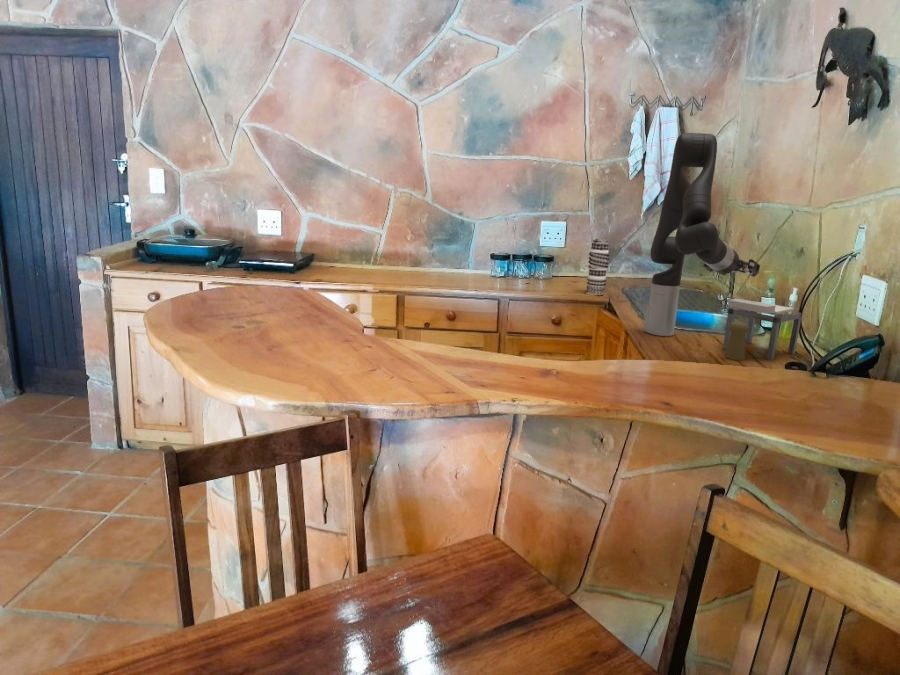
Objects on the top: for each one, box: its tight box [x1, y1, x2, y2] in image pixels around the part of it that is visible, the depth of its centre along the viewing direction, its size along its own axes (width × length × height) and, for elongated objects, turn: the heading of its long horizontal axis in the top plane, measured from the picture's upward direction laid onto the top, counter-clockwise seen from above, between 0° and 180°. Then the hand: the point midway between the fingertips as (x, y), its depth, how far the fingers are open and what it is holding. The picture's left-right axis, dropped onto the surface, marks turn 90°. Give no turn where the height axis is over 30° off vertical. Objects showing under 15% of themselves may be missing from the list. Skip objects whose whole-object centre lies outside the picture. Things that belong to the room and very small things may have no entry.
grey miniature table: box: [722, 307, 803, 361], centre depth 204 cm, size 16×16×13 cm
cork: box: [723, 321, 749, 361], centre depth 195 cm, size 6×6×11 cm
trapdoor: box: [727, 298, 795, 316], centre depth 200 cm, size 12×18×3 cm, turn 129°
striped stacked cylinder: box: [585, 238, 610, 294], centre depth 292 cm, size 9×9×25 cm
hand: (739, 272), depth 192 cm, fingers open, 8 cm apart
